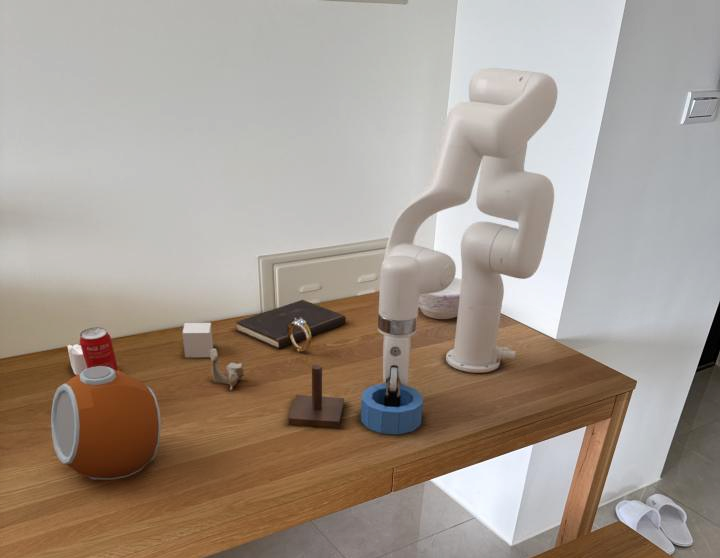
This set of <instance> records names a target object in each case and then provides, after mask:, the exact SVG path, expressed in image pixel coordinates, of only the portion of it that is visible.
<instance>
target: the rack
mask: <svg viewBox="0 0 720 558" xmlns="http://www.w3.org/2000/svg"><path fill="white" fill-rule="evenodd" d="M344 405H345V397H333V396H323V366H322V365H321V364H313V365H311V395H304V394H295V397H294V399H293V402H292V406H291V408H290V413H289V415H288V418H287V419H288V425H289V426H301V427H314V428H315V427H318V428H331V429H332V428H333V429H339V428H340V427H341V420H342V415H343V410H344Z"/></svg>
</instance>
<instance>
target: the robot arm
mask: <svg viewBox="0 0 720 558" xmlns="http://www.w3.org/2000/svg"><path fill="white" fill-rule="evenodd" d="M468 83H469V84H468V99H469V101H462V102H459V103H457V104H455V105H454V106H453V107H452V108H451V109H450V110H449V112H448V113H447V116H446V118H445V122H444V125H443V129H442V132H441V136H440V139H439V142H438V146H437V149H436V152H435V155H434V160H433V162H432V165H431V166H432V167H431V169H430V173H429V176H428V180H427V182H426V184H425V186H424V188H423V189H422V190H421V191H420V192H419V193H417V194H416V195H415V196H414V197H413V198H412V199H411V200H409V202H408V203H407V204H406V205H405V206H404V208H402V210H401V211H400V213H399V214H398V215H397V217H396V218H395V220H394V221H393V224H392V227H391V230H390V233H389V236H388V240H387V243H386V246H385V250H384V256H383V261H382V263H381V265H380V276H379V277H380V279H379V296H378V297H379V299H378V317H377V331H378V332H379V334H381V335H383V341H382V342H383V344H382V375H383V376H382V379H383V381H382V382H383V384H384V383H386V384H387V385H386V395H385V398H384V406H386V407H400V398H401V396H399V395H400V384H403V385H406V386H407V384H408V383H409V372H410V359H411V344H412V336H415V334H417V330H418V329H417V328H418V319H419V307H418V306H419V297H420V295H421V294H428V293H436V292H440V291H442V290H444V289H446V288H447V287H448V286H449V285H450V284H451V283H452V281H453V280H454V278H456V272H457V267H456V262H455V260H454V259H453V258H452V257H451V256H450V255H449V254H447V253H445V252H441V251H439V250H434V249H431V248H428V247H425V246H420V245H417V244H414V240H415V237H416V235H417V232H418V230H419V229H420V227H421V226H422V225H423V223H424V222H425V221H426V220H427V219H429V218H430V217H431V216H434V215H435V214H437V213H439V212H442V211H445V210H447V209H451V208H454V207H458V206H461V205H464V204H466V203H468V202H469V201H470V199H471V196H472V193H473V189H474V186H475V183H476V180H477V177H478V173H479V177H478V183H477V189H476V199H475V202H476V208H477V209H478V210H479V211H480V212H481V213H483V214H485V215H487V216H491V217H495V218H498V219H502V220H507V221H511V222H515V223H516V222H517V223H518V228H516V227H512V226H509V225H505V224H501V223H497V222H492V221H477V222H474V223H472V224H470V225H469V226H467V228H466V229H465V230H464V232H463V234H462V236H461V241H460V257H461V258H460V259H461V280H462V281H461V291H460V299H459V308H458V316H457V317H456V326H455V333H454V334H455V335H454V345H453V348H452V349H450V350H449V351H447V352H446V355H445V361H446V363H447V364H448V365H449V366H450V367H451V368H454V369H456V370H458V371H462V372H465V373H466V372H467V373H473V374H474V373H475V374H480V373H481V374H483V373H489V372H492V371H495V370H496V369H498V368H499V367H500V366H501V359H506V360H516V350H510V347H508V346H504V347H503V346H500V345H498V342H497V341H498V333H499V327H500V320H501V313H502V307H503V301H504V295H505V294H504V293H505V289H504V288H505V287H504V281H503V278H502V275H503V276H507V277H511V278H514V279H520V280H526V279H529V278H531V277H533V276H534V275H535V274H536V272H537V271H538V269H539V267H540V264H541V262H542V259H543V253H544V251H545V246H546V241H547V236H548V231H549V227H550V223H551V218H552V214H553V209H554V204H555V203H554V202H555V189H554V185H553V183H552V181H551V179H550V178H548V177H547V176H545V175H544V174H541V173H536V172H531V171H526V170H525V164H526V163H525V162H526V156H527V149H528V142H529V141H530V140H531V139H532V138H533V137H534V136H535V135H536V134H537V133H538V131H539V130H540V129H542V127H543V126H544V125H545V124H546V123H547V121H548V120H549V119H550V117H551V116H552V114H553V112H554V110H555V108H556V105H557V102H558V101H557V99H558V93H559V92H558V86H557V83H556V81H555V79H554V78H553V77H552V76H551V75H549V74H547V73H544V72H536V71H529V70H528V71H527V70H519V69H518V70H517V69H511V68H500V67H488V68H482V69H479V70H477V71H476V72H474V74H472V76H471V77H470V80H469V82H468ZM389 385H390V388H389ZM396 385H398V387H397V389H396Z"/></svg>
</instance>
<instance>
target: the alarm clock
mask: <svg viewBox="0 0 720 558" xmlns="http://www.w3.org/2000/svg"><path fill="white" fill-rule="evenodd" d="M50 417H51V419H50V425H51V426H50V427H51V438H52V442H53V443H52V444H53V448H54V451H55V454H56V456H57V458H58V460H59V461H60V462H61V463H62V464H63V465H66V466H67V467H68V468H70V469H72V470H73V471H75V472H76V473H77V474H80V475H82V476H85V477H87V478H89V479H90V480H101V481H103V480H106V481H108V480H109V481H111V480H119V479H122V478H123V479H124V478H128V477H130V476H132V475H134V474H136V473H139V472H141V470H143V468H144V467H146V466H147V464H150V463H151V462H152V461H153V460H154V458H155V456H156V455H157V452H158V449H159V445H160V442H161V432H162V431H161V430H162V423H161V422H162V421H161V411H160V407H159V403H158V399H157V396H156V395H155V393H154V392H153V390H152V388H150V387H149V386H147V385H146V384H145V383H143V382H142V381H141V380H139V379H137V378H135V377H134V376H131V375H130V374H127V373H124V372H123V371H121V370H118V371H116V370H113V369H112V368H110V367H104V366H97V367H91V368H88V369H85V370H84V371H83V372H81V373H80V374H78V375H75V376H73V377H72V378H70V379H69V380H68V381H66V382H64V383H63V384H61V385H60V386H58V387H57V388H56V390H55V393H54V396H53V399H52V405H51V415H50Z"/></svg>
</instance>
